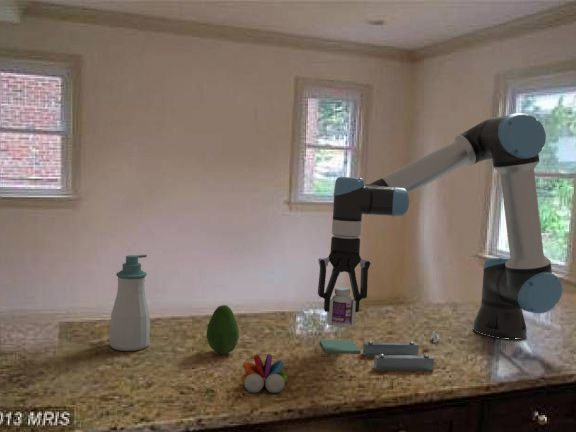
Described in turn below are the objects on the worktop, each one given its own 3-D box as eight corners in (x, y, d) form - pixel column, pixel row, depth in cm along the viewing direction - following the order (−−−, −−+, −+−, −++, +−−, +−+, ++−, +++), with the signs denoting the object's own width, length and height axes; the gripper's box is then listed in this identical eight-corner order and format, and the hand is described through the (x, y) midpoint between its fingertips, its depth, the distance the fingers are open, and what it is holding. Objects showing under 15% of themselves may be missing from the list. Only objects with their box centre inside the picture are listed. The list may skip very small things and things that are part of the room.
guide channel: (415, 353, 145) (416, 340, 144) (433, 370, 133) (434, 356, 132) (362, 353, 143) (363, 340, 142) (376, 370, 131) (377, 356, 131)
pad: (352, 342, 152) (352, 340, 152) (360, 353, 143) (360, 350, 143) (319, 341, 151) (319, 339, 151) (326, 352, 142) (326, 350, 142)
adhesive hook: (428, 341, 158) (429, 330, 157) (435, 340, 159) (436, 330, 158) (435, 344, 155) (436, 333, 155) (443, 344, 156) (443, 333, 156)
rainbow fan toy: (241, 379, 122) (242, 347, 121) (285, 380, 122) (287, 348, 122) (240, 395, 113) (241, 360, 113) (287, 396, 114) (289, 361, 113)
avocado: (224, 345, 144) (226, 300, 143) (244, 354, 138) (246, 306, 137) (199, 351, 138) (200, 304, 137) (218, 360, 132) (220, 311, 131)
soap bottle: (157, 347, 140) (160, 257, 138) (122, 355, 133) (124, 260, 131) (136, 337, 147) (138, 252, 145) (101, 344, 140) (103, 254, 138)
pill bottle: (349, 328, 143) (351, 291, 143) (329, 326, 144) (331, 289, 144) (351, 323, 149) (353, 287, 148) (331, 321, 150) (333, 285, 149)
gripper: (376, 236, 150) (370, 320, 151) (308, 233, 147) (303, 319, 149) (384, 239, 142) (378, 328, 144) (313, 236, 140) (308, 327, 142)
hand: (340, 323), depth 146 cm, fingers closed on pill bottle, 5 cm apart
